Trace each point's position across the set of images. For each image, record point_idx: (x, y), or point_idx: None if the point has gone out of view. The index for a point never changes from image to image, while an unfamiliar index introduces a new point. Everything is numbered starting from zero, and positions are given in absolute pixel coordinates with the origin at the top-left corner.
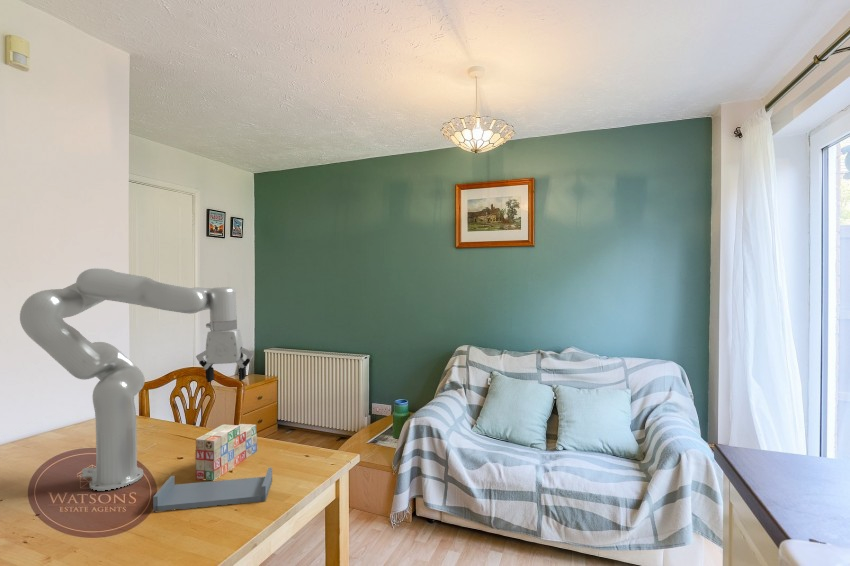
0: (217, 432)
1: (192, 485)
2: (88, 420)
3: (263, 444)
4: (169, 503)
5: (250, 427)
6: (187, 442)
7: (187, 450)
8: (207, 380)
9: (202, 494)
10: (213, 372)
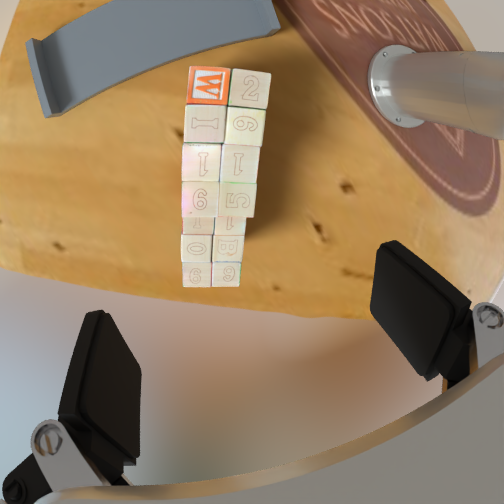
0: (224, 136)
1: (219, 33)
2: (494, 291)
3: None
4: None
5: (187, 265)
6: (367, 259)
7: (350, 224)
8: (400, 245)
9: (168, 4)
10: (401, 347)
